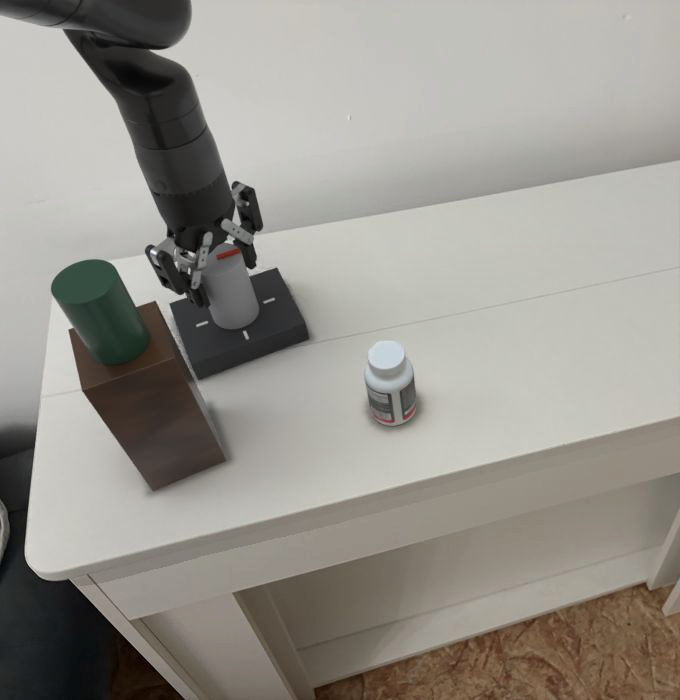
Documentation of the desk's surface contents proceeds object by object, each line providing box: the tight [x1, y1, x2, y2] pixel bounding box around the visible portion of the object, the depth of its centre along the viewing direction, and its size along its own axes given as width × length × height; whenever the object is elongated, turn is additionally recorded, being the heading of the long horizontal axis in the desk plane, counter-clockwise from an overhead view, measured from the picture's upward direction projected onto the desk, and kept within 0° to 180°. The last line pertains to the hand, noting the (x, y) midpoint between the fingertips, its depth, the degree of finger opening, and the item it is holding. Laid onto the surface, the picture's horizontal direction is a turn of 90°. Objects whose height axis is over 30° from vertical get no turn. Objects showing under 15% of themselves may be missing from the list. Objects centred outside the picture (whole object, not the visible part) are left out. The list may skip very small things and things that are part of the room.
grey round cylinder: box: [192, 242, 259, 329], centre depth 84 cm, size 6×6×9 cm
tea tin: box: [50, 258, 150, 365], centre depth 61 cm, size 5×5×8 cm
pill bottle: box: [363, 339, 418, 427], centre depth 78 cm, size 5×5×10 cm
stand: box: [67, 300, 227, 492], centre depth 71 cm, size 8×8×18 cm
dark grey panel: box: [168, 266, 310, 381], centre depth 88 cm, size 14×11×3 cm
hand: (226, 284), depth 83 cm, fingers open, 7 cm apart
